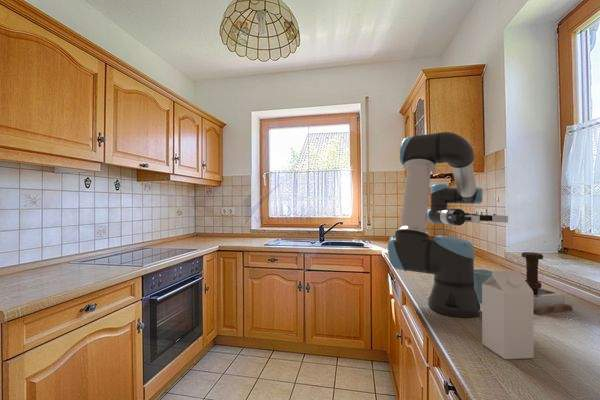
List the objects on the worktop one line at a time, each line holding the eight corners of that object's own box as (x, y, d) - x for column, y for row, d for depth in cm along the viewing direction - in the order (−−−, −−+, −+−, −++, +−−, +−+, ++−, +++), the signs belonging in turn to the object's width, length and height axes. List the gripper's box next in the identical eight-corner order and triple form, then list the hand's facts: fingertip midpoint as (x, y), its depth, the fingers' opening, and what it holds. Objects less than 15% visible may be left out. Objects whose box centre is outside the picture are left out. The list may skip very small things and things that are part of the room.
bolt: (545, 300, 97) (545, 255, 97) (528, 299, 98) (528, 254, 98) (535, 295, 103) (535, 252, 103) (519, 294, 104) (519, 251, 104)
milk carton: (481, 344, 72) (481, 267, 73) (508, 343, 73) (508, 267, 73) (504, 360, 65) (504, 274, 65) (534, 358, 66) (533, 274, 66)
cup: (489, 297, 107) (489, 269, 107) (501, 305, 100) (501, 274, 100) (467, 297, 108) (467, 268, 108) (477, 304, 101) (477, 274, 101)
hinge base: (535, 314, 92) (535, 298, 92) (496, 299, 105) (496, 285, 105) (572, 310, 95) (572, 294, 95) (529, 296, 109) (529, 283, 109)
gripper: (475, 224, 139) (518, 228, 118) (429, 225, 133) (466, 229, 112) (475, 208, 139) (518, 209, 118) (429, 208, 133) (466, 209, 113)
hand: (493, 219), depth 115 cm, fingers open, 13 cm apart
